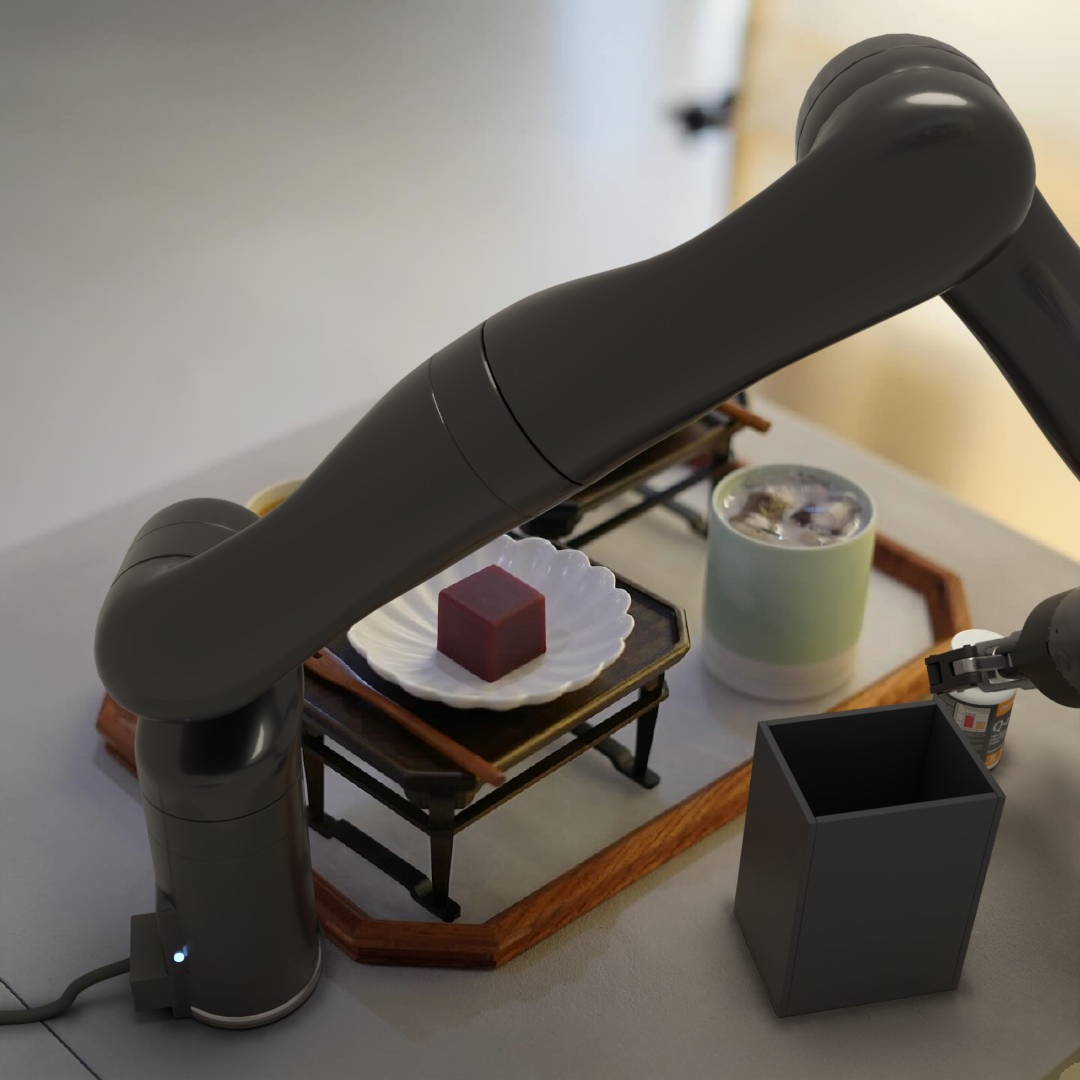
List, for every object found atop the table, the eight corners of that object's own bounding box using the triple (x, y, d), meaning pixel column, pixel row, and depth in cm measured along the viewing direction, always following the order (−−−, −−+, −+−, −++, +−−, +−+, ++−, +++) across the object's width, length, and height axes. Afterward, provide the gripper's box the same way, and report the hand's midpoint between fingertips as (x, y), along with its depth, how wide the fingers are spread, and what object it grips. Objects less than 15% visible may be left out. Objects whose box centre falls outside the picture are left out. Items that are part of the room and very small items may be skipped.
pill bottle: (1001, 782, 112) (1027, 677, 107) (922, 770, 113) (944, 666, 108) (998, 733, 117) (1023, 630, 112) (922, 722, 118) (943, 619, 113)
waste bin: (778, 1018, 94) (809, 824, 85) (733, 910, 101) (757, 721, 92) (957, 988, 96) (1006, 796, 87) (901, 885, 104) (940, 697, 95)
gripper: (1200, 569, 95) (1072, 610, 111) (990, 593, 93) (890, 632, 109) (1226, 688, 94) (1093, 712, 110) (1013, 715, 91) (908, 736, 107)
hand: (992, 672), depth 109 cm, fingers open, 8 cm apart
